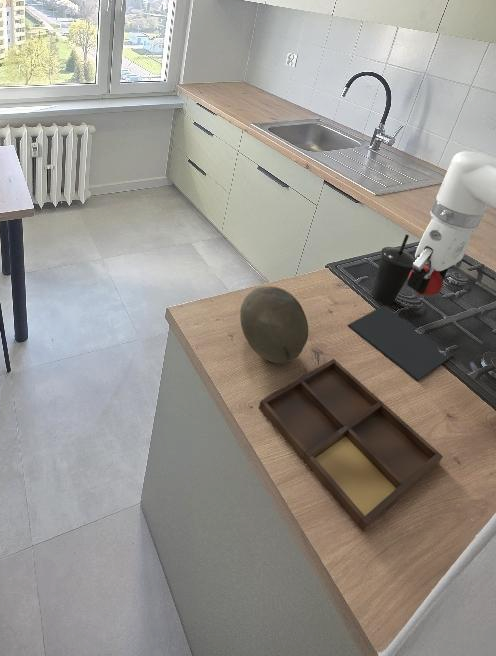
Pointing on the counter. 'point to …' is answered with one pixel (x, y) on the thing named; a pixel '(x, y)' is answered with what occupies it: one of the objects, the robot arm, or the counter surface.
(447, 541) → the counter surface
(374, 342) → the mat
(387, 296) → the drinking cup
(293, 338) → the grey-brown oval ball
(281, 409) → the tray
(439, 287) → the onion
